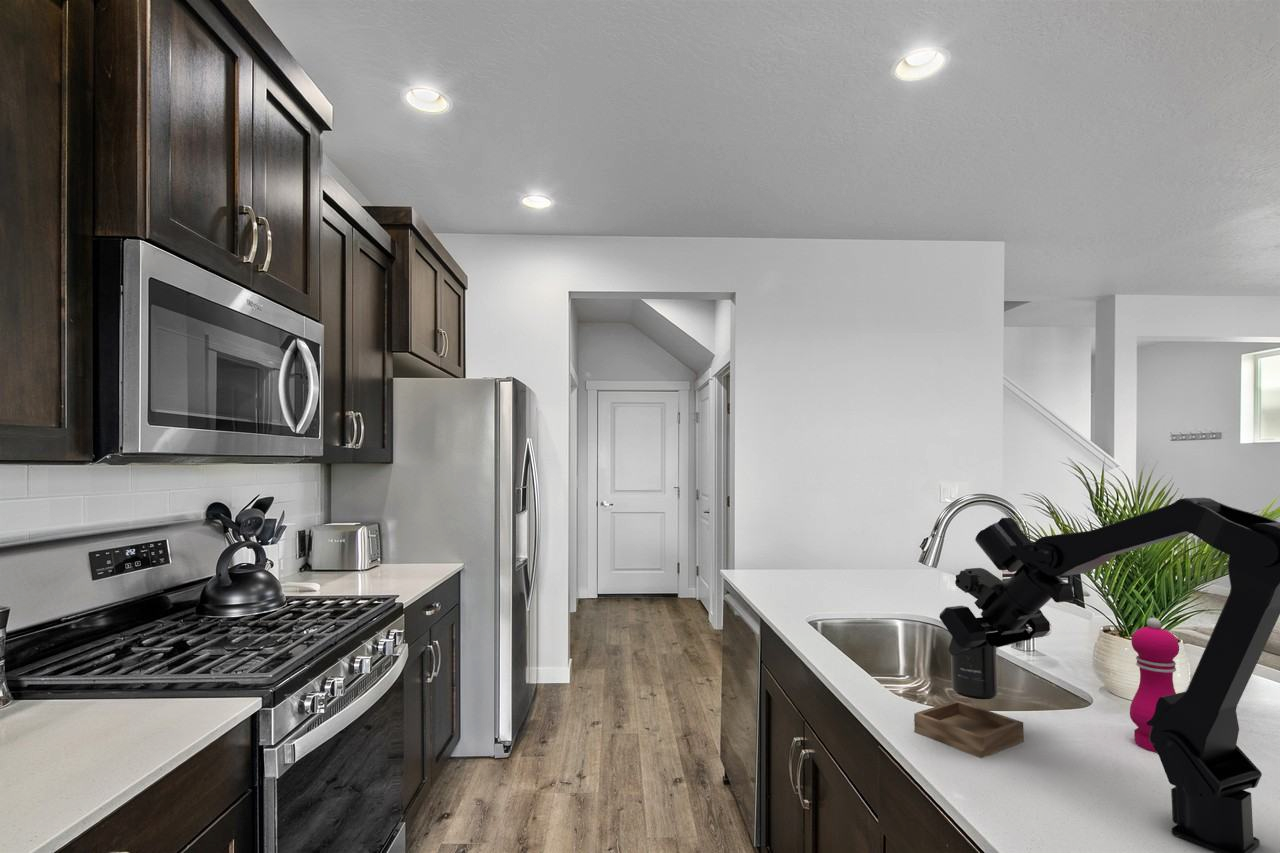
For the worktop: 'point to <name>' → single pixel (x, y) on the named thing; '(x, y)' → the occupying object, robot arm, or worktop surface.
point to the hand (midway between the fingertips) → (966, 650)
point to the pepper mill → (1152, 675)
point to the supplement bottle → (976, 671)
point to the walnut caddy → (969, 728)
